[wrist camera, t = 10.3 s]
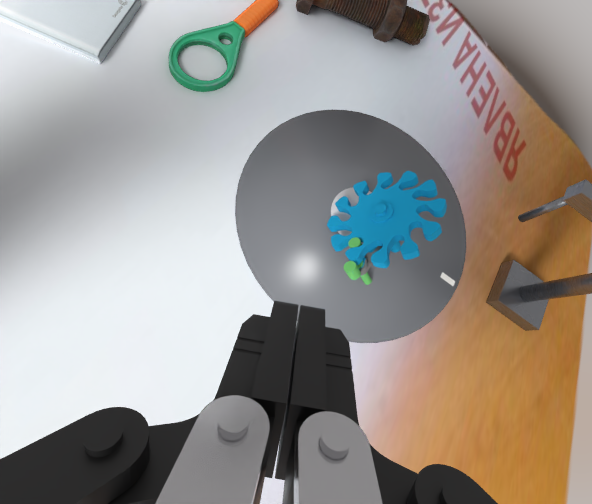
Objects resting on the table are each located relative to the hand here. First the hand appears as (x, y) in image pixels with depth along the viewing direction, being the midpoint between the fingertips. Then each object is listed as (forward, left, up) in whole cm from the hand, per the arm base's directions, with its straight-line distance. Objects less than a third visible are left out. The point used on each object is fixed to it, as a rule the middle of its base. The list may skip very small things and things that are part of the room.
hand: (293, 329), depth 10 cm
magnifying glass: (-18, +24, -19) cm, 35 cm away
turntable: (+3, +16, -19) cm, 25 cm away
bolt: (-10, +37, -19) cm, 43 cm away
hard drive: (-32, +15, -19) cm, 40 cm away
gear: (+4, +14, -18) cm, 23 cm away
